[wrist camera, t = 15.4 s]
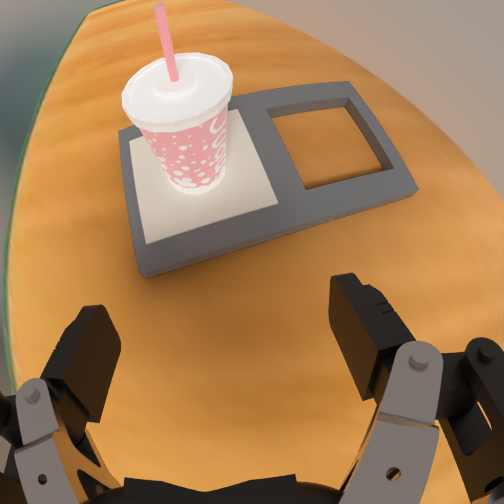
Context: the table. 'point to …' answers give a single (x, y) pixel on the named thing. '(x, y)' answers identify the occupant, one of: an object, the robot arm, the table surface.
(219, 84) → the beverage cup
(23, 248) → the table surface
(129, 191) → the hole board
